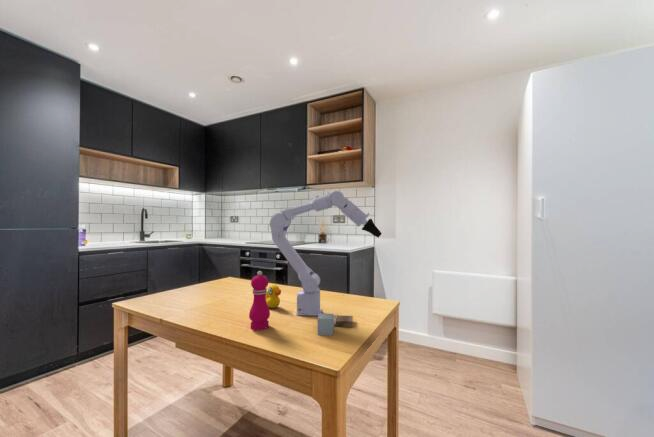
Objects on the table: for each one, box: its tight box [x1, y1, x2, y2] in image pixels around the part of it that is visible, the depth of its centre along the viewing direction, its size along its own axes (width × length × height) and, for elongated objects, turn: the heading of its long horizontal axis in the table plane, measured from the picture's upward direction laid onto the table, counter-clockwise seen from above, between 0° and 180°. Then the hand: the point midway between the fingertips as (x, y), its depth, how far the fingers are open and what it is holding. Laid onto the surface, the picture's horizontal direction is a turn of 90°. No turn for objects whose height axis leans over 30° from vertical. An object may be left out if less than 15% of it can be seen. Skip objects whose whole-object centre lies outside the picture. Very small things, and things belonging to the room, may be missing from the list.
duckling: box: [265, 284, 282, 309], centre depth 120 cm, size 11×5×10 cm, turn 44°
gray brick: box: [317, 312, 335, 336], centre depth 93 cm, size 5×5×6 cm
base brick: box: [335, 314, 354, 328], centre depth 101 cm, size 6×6×2 cm
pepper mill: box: [248, 270, 271, 331], centre depth 98 cm, size 7×7×20 cm
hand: (379, 235), depth 110 cm, fingers open, 7 cm apart
